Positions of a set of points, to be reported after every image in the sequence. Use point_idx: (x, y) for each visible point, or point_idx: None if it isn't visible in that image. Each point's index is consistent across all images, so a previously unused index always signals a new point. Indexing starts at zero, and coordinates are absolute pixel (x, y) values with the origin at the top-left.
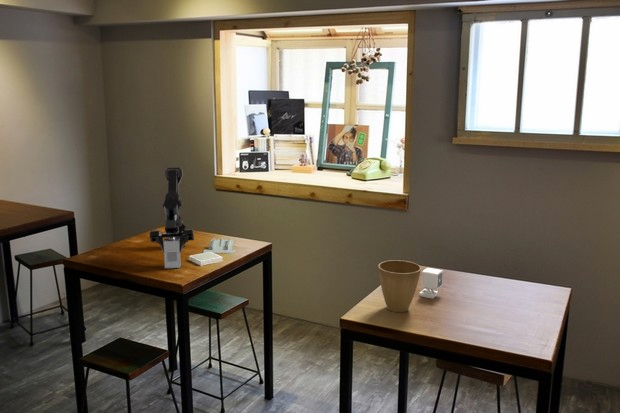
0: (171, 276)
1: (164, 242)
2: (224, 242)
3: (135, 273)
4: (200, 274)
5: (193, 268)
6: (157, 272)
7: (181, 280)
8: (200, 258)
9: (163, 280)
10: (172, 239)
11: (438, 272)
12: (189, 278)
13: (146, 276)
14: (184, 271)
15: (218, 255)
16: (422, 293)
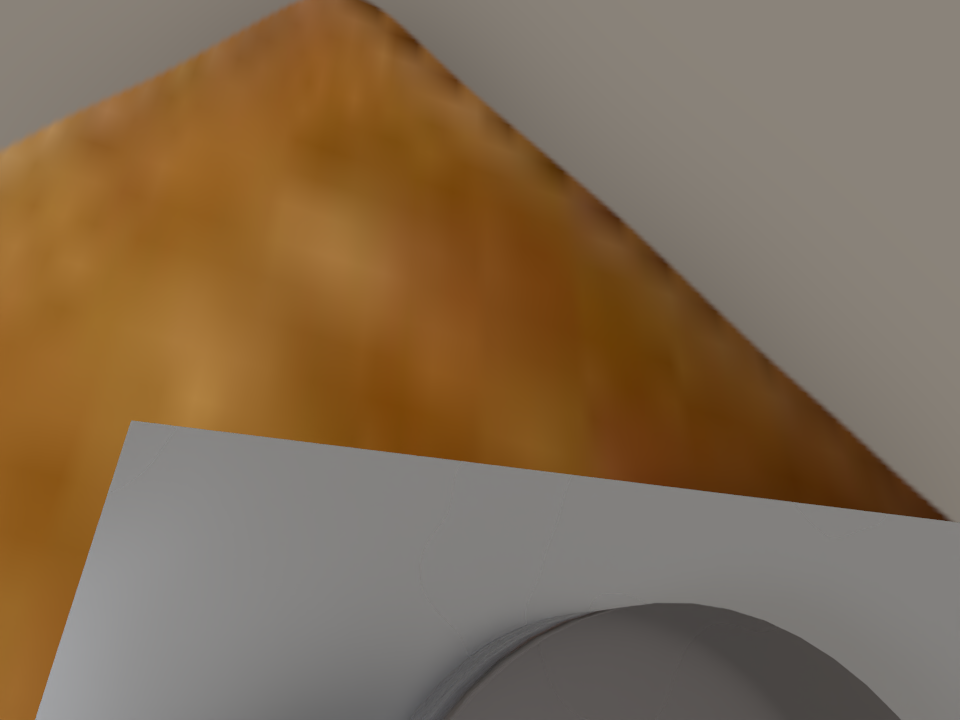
0: (440, 248)
1: (897, 529)
2: None
3: (889, 501)
4: (24, 195)
5: (26, 527)
6: (626, 466)
7: (334, 86)
8: None
9: (532, 154)
10: (573, 620)
11: None
12: (226, 110)
13: (733, 343)
14: (231, 400)
15: None
16: None
